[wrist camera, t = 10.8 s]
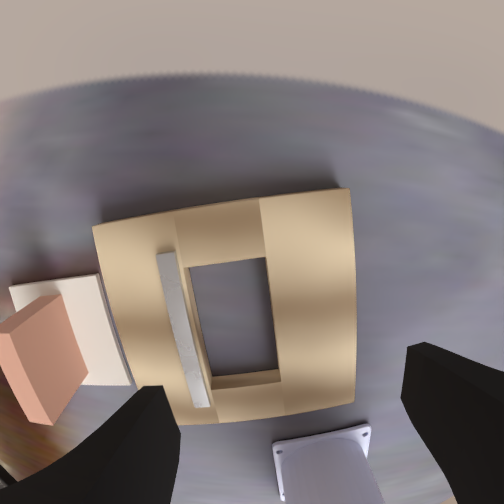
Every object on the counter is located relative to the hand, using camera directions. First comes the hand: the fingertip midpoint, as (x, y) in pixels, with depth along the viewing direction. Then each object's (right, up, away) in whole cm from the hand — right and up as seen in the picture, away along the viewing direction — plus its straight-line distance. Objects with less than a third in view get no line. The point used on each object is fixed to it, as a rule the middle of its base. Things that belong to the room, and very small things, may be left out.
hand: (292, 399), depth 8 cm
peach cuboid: (-14, -2, +10) cm, 17 cm away
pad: (-14, -2, +11) cm, 18 cm away
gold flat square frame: (-2, 0, +11) cm, 11 cm away
